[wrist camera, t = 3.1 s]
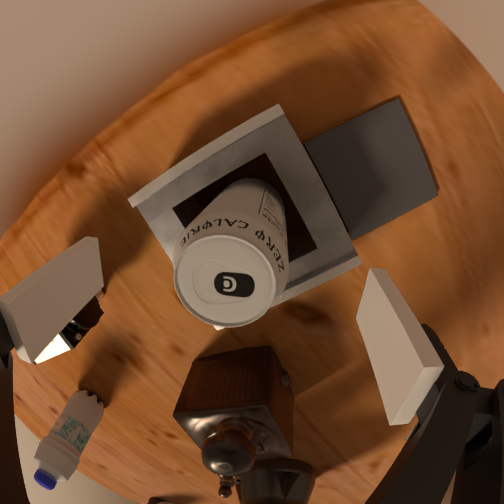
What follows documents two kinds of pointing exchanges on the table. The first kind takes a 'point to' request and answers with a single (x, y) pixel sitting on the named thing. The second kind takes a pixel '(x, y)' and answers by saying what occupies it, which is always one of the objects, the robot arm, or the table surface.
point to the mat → (373, 168)
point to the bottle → (67, 439)
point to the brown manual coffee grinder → (237, 411)
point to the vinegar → (155, 501)
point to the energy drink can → (234, 255)
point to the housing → (292, 176)
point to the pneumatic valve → (74, 329)
